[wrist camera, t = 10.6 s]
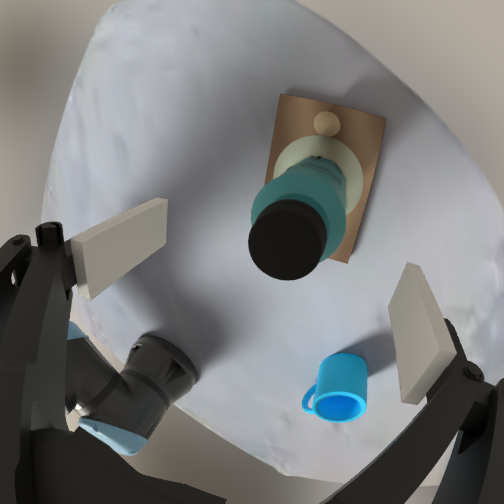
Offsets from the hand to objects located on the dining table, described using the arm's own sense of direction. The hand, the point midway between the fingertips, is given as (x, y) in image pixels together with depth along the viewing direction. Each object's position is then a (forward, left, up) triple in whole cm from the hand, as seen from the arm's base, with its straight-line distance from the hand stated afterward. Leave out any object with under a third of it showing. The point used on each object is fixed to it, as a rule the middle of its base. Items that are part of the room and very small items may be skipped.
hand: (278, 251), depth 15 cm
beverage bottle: (0, 0, -20) cm, 20 cm away
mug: (+11, -30, -22) cm, 38 cm away
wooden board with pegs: (0, 0, -22) cm, 22 cm away
